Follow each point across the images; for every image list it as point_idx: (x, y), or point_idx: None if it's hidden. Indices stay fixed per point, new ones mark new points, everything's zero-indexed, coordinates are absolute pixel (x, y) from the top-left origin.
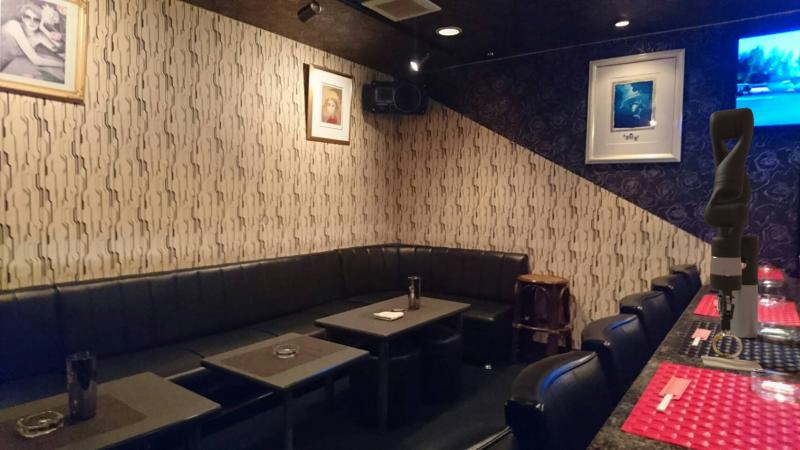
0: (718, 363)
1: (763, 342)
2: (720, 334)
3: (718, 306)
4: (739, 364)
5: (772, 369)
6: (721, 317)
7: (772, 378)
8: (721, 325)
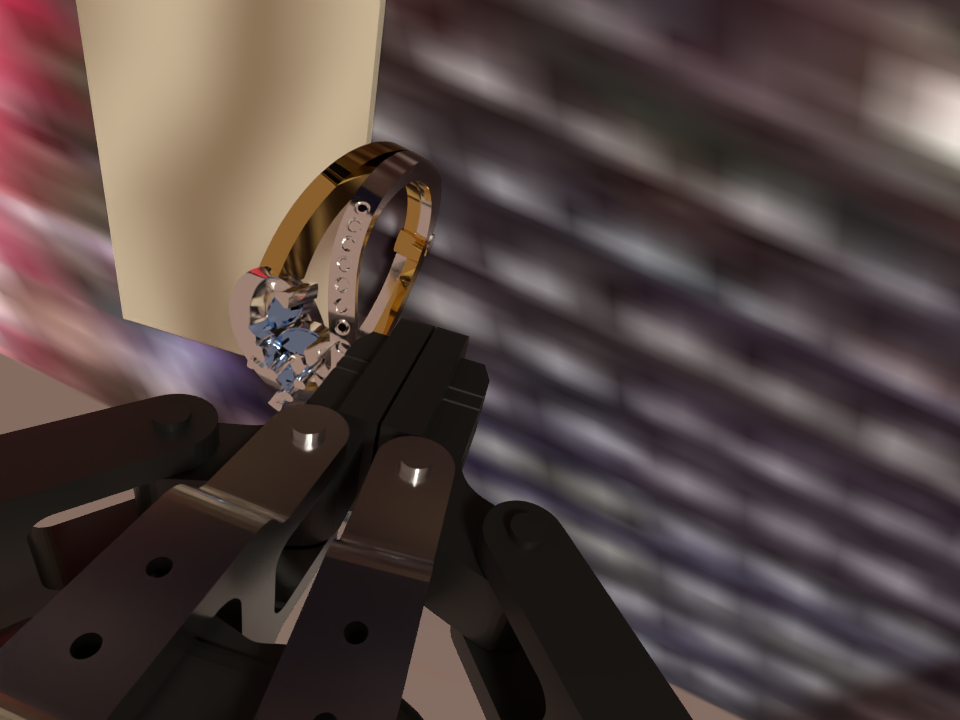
0: (174, 70)
1: (903, 673)
2: (333, 268)
3: (303, 619)
4: (218, 235)
5: (233, 393)
6: (160, 403)
7: (46, 303)
8: (371, 364)
